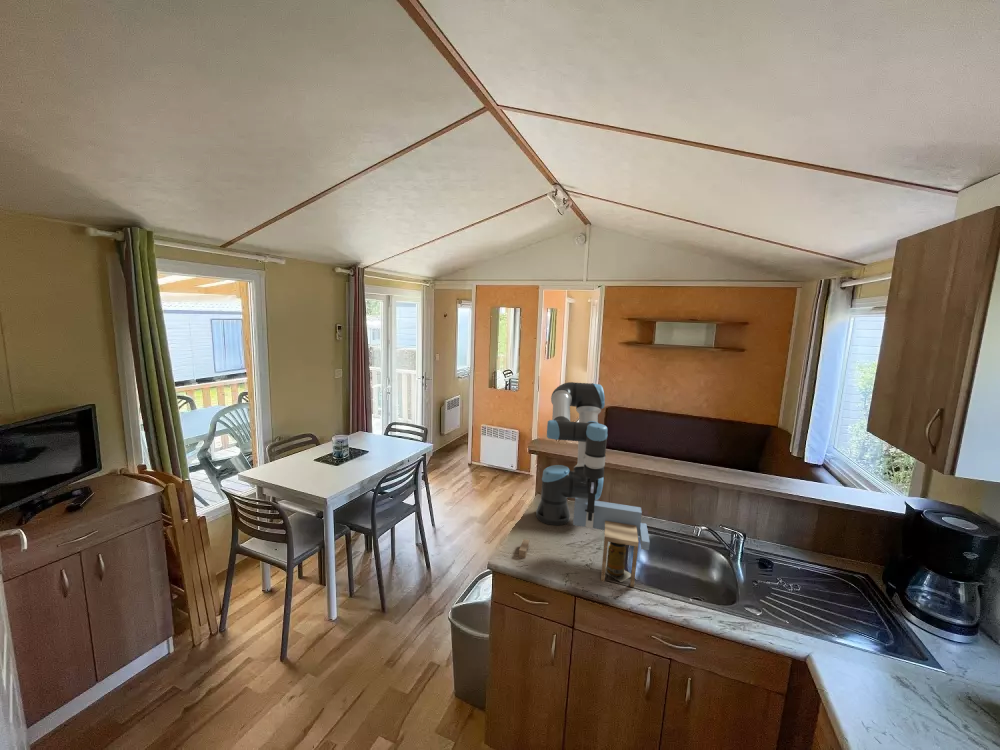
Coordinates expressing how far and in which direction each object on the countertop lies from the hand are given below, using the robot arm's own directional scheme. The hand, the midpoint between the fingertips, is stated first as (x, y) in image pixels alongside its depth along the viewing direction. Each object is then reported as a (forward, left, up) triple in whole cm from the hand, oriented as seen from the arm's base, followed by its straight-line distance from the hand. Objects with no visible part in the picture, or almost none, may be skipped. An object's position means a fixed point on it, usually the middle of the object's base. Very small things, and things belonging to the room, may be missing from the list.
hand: (589, 524), depth 157 cm
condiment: (+8, +11, -13) cm, 19 cm away
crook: (+5, +7, 0) cm, 9 cm away
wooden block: (+6, -24, -13) cm, 27 cm away
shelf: (+9, +11, -13) cm, 19 cm away
